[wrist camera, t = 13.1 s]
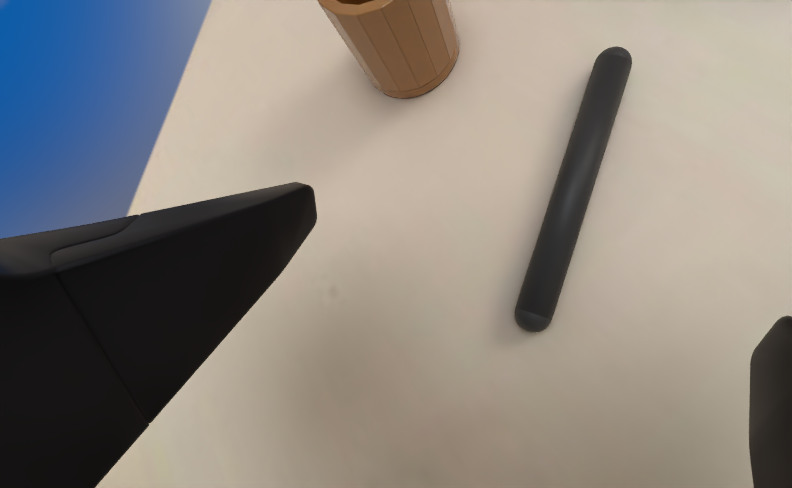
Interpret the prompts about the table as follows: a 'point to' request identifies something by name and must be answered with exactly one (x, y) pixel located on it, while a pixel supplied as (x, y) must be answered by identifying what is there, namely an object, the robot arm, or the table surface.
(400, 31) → the brown wooden cup
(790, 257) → the table surface
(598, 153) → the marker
